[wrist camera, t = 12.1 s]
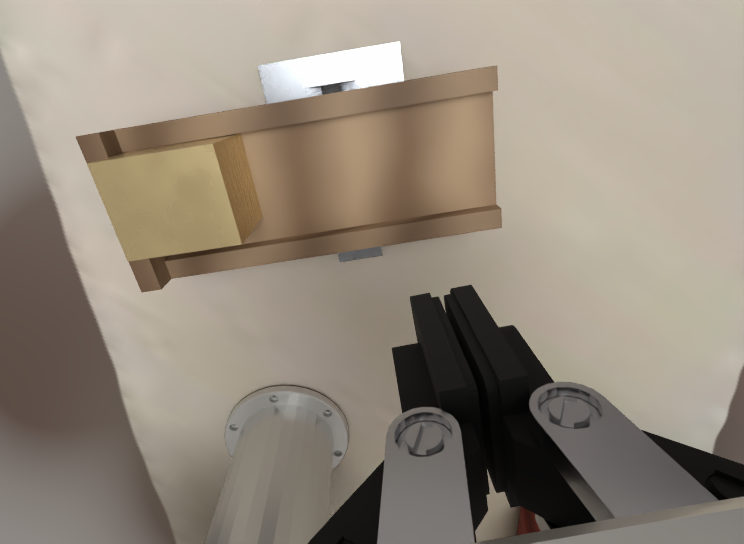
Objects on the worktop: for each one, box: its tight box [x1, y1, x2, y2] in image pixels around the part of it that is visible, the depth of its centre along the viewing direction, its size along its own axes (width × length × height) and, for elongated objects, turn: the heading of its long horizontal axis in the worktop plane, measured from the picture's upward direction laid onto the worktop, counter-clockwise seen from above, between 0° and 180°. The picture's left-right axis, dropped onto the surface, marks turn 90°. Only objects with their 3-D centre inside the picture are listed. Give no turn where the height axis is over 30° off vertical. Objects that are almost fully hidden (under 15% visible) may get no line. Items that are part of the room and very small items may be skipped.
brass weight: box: [87, 133, 263, 261], centre depth 23 cm, size 6×5×5 cm
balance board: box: [76, 66, 502, 292], centre depth 25 cm, size 22×9×4 cm, turn 99°
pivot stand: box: [258, 41, 404, 262], centre depth 30 cm, size 21×14×7 cm
